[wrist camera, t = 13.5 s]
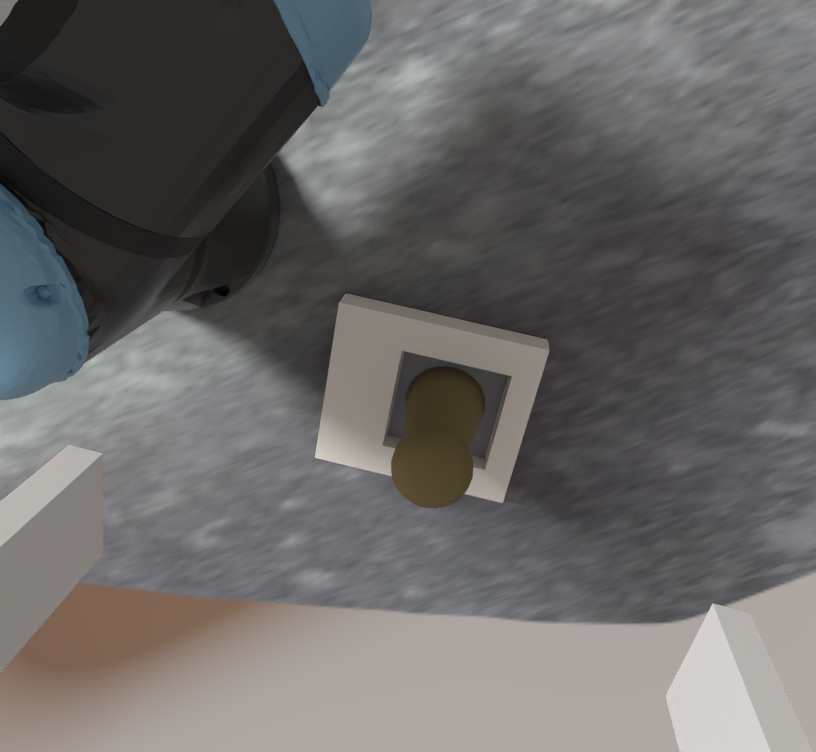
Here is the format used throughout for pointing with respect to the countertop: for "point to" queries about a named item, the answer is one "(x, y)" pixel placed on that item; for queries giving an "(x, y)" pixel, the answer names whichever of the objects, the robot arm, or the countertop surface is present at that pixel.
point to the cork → (438, 437)
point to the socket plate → (398, 366)
